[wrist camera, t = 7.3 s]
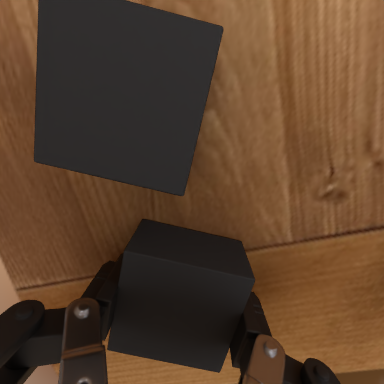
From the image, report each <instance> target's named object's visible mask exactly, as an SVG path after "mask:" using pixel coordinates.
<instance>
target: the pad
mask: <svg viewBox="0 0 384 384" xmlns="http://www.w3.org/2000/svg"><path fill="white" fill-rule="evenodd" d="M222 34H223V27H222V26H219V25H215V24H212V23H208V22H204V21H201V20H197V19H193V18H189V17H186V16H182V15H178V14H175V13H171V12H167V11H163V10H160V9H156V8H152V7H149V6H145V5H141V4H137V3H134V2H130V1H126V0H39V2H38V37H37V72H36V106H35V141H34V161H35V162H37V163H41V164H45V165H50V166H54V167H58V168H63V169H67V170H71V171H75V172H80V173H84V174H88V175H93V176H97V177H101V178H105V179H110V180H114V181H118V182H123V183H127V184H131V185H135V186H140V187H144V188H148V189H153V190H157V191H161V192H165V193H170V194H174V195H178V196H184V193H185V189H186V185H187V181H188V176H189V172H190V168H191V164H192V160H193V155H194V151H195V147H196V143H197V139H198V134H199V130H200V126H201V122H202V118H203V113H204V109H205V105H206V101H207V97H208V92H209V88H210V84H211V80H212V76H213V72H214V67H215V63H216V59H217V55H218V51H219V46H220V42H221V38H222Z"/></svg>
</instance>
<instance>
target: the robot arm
mask: <svg viewBox="0 0 384 384" xmlns="http://www.w3.org/2000/svg"><path fill="white" fill-rule="evenodd" d="M122 259H123V254H121V255H120V257H119V258H118V260H117V262H114V261H108V262H107V263H105V264H104V265H102V267H101V268H100V270H99V271H98V273H97V274H96V276H95V278H94V279H93V280H92V282H91V283H90V285H89V286H88V288H87V289H86V291H85V292H84V294H83V295H82V296H81V298H79V299H76V300H74V301H73V302H71V303H70V304H69V305H68V306H67V307H65V308H60V309H47V310H45V307H44V305H43V303H41V302H40V301H37V300H25V301H21V302H19V303H16V304H14V305H13V306H11V307H10V308H8V309H7V310H6V311H5V312H3V313H2V314H1V315H0V384H23V383H24V382H25V381H26V380H27V379H28V377H29V376H30V375H31V374H32V372H33V371H34V370H35V369H36V368H37V366H43V365H49V364H56V363H60V370H59V381H58V384H108V378H107V365H106V352H105V346H104V345H102V340H104V341H105V339H106V337H107V334H108V332H109V330H110V327H111V325H112V323H113V318H114V312H115V306H116V300H117V294H118V288H119V286H118V282H119V276H120V270H121V264H122ZM230 353H231V360H232V367H235V368H240V372H241V375H240V377H239V380H238V383H237V384H340V382H339V381H338V379H337V378H336V376H335V374H334V373H333V372H332V371H331V369H330V368H329V367H328V366H326V365H325V364H324V363H323V362H321V361H319V360H317V359H314V358H308V359H306V361H305V362H304V364H303V363H301V362H299V361H297V360H295V359H293V358H291V357H289V356H288V355H286V354H285V351H284V349H283V347H282V346H281V344H280V343H279V342H278V341H277V340H275V339H274V338H273V337H272V335H271V332H270V329H269V326H268V323H267V321H266V318H265V315H264V312H263V309H262V306H261V303H260V301H259V299H258V297H257V296H256V295H255V293H254V292H251V293H250V295H249V298H248V300H247V303H246V306H245V308H244V311H243V313H242V315H241V318H240V320H239V323H238V326H237V328H236V331H235V333H234V336H233V339H232V341H231V344H230Z"/></svg>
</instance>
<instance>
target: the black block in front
mask: <svg viewBox="0 0 384 384" xmlns="http://www.w3.org/2000/svg"><path fill="white" fill-rule="evenodd" d="M254 282H255V278H254V275H253V272H252V269H251V267H250V264H249V261H248V258H247V256H246V253H245V250H244V247H243V245H242V242H241V241H238V240H234V239H229V238H225V237H220V236H216V235H212V234H207V233H203V232H199V231H194V230H190V229H185V228H181V227H177V226H172V225H168V224H164V223H159V222H155V221H150V220H146V219H142V221H141V223H140V224H139V226H138V228H137V229H136V231H135V233H134V235H133V236H132V238H131V240H130V241H129V243H128V245H127V246H126V248H125V250H124V253H123V259H122V264H121V270H120V276H119V282H118V286H119V288H118V294H117V300H116V306H115V312H114V318H113V323H112V325H111V330H110V336H109V342H108V348H107V350H109V351H114V352H119V353H124V354H129V355H134V356H139V357H144V358H149V359H154V360H159V361H164V362H169V363H174V364H179V365H184V366H189V367H193V368H198V369H203V370H208V371H213V372H218V373H219V372H220V371H221V368H222V366H223V363H224V360H225V358H226V355H227V353H228V350H229V347H230V344H231V341H232V339H233V336H234V333H235V331H236V328H237V326H238V323H239V320H240V318H241V315H242V313H243V311H244V308H245V306H246V303H247V300H248V298H249V295H250V293H251V290H252V287H253V285H254Z"/></svg>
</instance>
